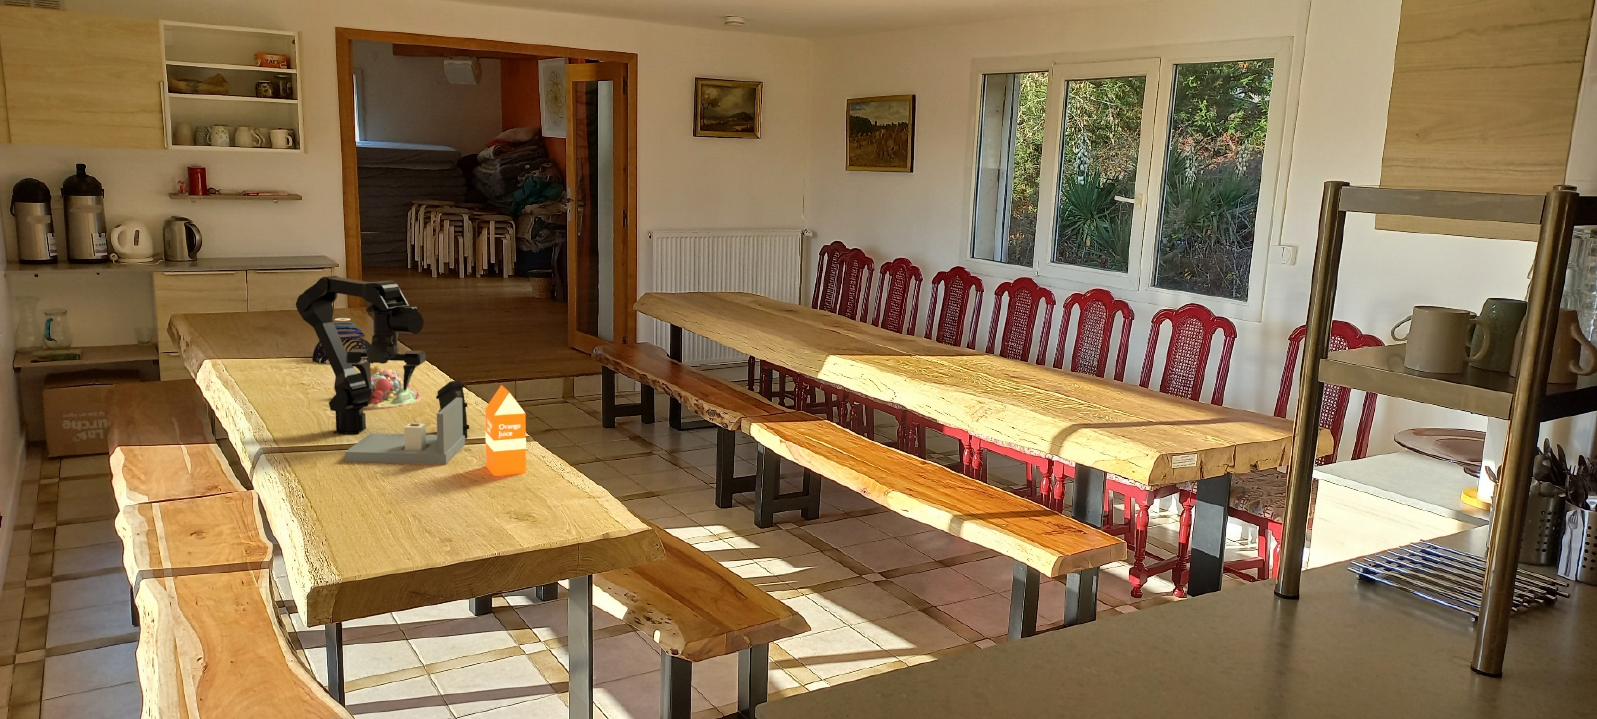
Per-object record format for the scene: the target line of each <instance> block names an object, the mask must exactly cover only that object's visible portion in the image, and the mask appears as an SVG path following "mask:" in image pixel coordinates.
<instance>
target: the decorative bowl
mask: <svg viewBox="0 0 1597 719" xmlns="http://www.w3.org/2000/svg"><path fill="white" fill-rule="evenodd" d="M333 320H334V321H335V322H336V321H337V322H336V323H335V322H333V323H334V325H335V328H336V330H337V332H338V334H339V336H340V335H341V336H340V339H341V341H342V343H343V345H344V346H345V350H346V352H347V353H348V352H349V351H351V350H353V349H368V347H369V346H370V345H371V343H370V342H369V341H368V340H366V339H364V337H366V335H365V333H364V332H362V329H360V328H358V327H356V325H357V324H355V323H353V322H346V321H350V320H351V318H349V317H348V318H347V317H339V318H335V319H333ZM343 321H344V322H343ZM339 330H340V331H339ZM343 330H344V331H343ZM351 330H352V331H351ZM354 334H355V335H354ZM342 335H350V336H342ZM346 344H347V345H346ZM352 344H354V345H352ZM312 361H313V363H314V362H315V363H317V364H322V365H328V363H326V362H327V361H329V360H328V358H327V356H326V354H325V352H324V349H323V347H322V345H321V343H320V341H319V340H318V342H317V344H316V345H315V347H314V349H313V353H312ZM352 364H353V363H352Z"/></svg>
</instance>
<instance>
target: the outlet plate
mask: <svg viewBox="0 0 1597 719" xmlns="http://www.w3.org/2000/svg"><path fill="white" fill-rule="evenodd" d="M465 446H466V439H465V436H463V412H462V398H455V399H454V400H453V401H452V402H450V403H449V404H448V405H447V406H446V407H444V408H443V409H442V410H441V411H440V412H439V411H438V412H437V413H436V434H426V450H405V438H404V433H377V432H376V433H373V432H370V433H368V434H367V435H366V436H365V437H363V438H362V439H361V440H359V441H358V442H356V443H355V444H354V445H353V446H351V447H350V448H349V449H347V450H346V451H345V452H344V457H345V458H344V461H345V463H371V464H372V463H375V464H411V465H412V464H417V465H418V464H421V465H447V464H448V463H449V462H451V460H452V459H453V458H455V456H456V455H457V454H458V453H459V452H460V451H461V450H462V449H463V448H464V447H465Z"/></svg>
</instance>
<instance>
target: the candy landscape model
mask: <svg viewBox="0 0 1597 719" xmlns="http://www.w3.org/2000/svg"><path fill="white" fill-rule="evenodd" d="M370 370H371V390H372V393H371V397H370V399H369V403H368V406H367V407H363V409H365V410H366V409H368V410H386V409H394V408H399V407H405V406H409V405H410V406H411V405H413V404H417V403H419V402H420V401H421V400H422V397H421V396H420V393H419V391H417V393H416V392H415V391H413V389H411V388H410V384H408V387H407V389H406V390H404V386H403V384H404V373H403V374H402V376H401V377H400V374H399V372H398V371H393V370H392V369H391V368H388V369H384V370H381V368H380V366H378V365H373V366H370Z"/></svg>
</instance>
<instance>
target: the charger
mask: <svg viewBox="0 0 1597 719" xmlns="http://www.w3.org/2000/svg"><path fill="white" fill-rule="evenodd" d="M426 428H427V427H426V423H417V422H415V423H408V424H406V425H405V426H404V427H403V429H404V430H403V434H404V438H405V450H426V435H427V434H426V433H427V432H426V431H427V429H426Z"/></svg>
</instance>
